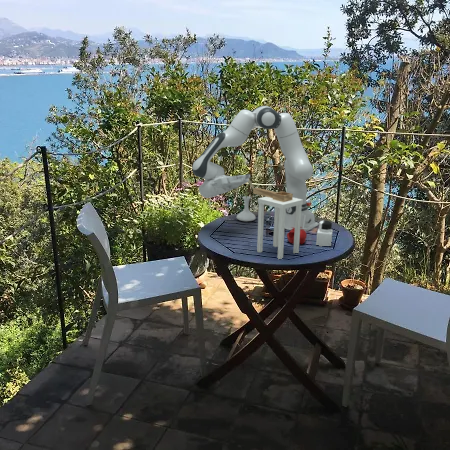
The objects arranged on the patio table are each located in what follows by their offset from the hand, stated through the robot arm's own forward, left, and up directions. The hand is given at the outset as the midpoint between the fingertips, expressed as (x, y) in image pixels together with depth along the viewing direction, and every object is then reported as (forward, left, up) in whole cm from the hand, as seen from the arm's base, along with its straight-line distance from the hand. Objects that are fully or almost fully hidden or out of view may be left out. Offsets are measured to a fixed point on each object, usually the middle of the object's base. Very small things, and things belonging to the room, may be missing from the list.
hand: (243, 176), depth 223 cm
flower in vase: (-27, -23, -33) cm, 49 cm away
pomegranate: (-17, +22, -33) cm, 43 cm away
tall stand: (+1, +25, -33) cm, 41 cm away
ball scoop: (+1, +19, -7) cm, 20 cm away
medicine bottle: (-25, +33, -33) cm, 53 cm away
